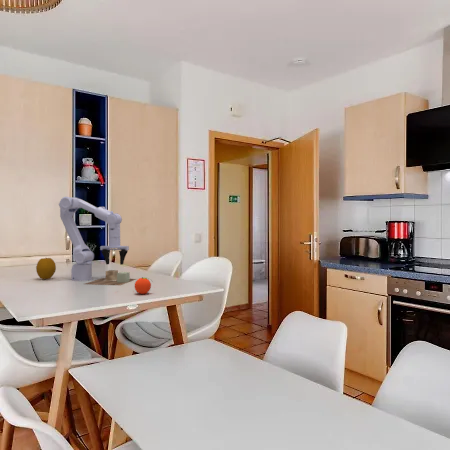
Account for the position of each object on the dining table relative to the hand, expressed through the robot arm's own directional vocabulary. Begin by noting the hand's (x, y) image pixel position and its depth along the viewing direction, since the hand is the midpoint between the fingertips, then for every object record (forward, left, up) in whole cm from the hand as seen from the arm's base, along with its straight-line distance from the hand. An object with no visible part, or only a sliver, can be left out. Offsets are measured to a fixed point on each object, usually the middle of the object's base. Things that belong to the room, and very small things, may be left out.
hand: (114, 264), depth 206 cm
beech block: (-2, +1, -8) cm, 8 cm away
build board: (0, -4, -9) cm, 10 cm away
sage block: (+6, -4, -8) cm, 11 cm away
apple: (-41, +3, -9) cm, 42 cm away
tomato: (+26, -26, -9) cm, 39 cm away
